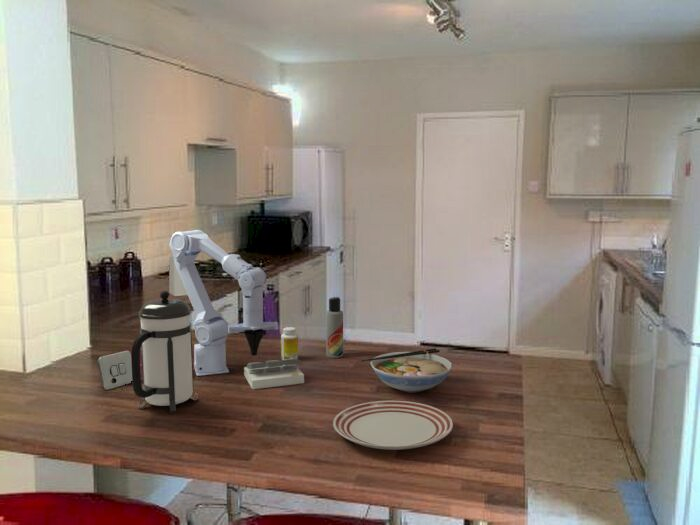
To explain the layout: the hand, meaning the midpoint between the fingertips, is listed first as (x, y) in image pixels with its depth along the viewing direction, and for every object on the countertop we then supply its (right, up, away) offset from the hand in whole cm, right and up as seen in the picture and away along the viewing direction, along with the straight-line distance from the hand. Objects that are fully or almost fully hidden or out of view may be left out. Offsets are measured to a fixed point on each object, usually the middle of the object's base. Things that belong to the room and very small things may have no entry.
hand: (253, 354), depth 170 cm
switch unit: (+6, -7, -1) cm, 9 cm away
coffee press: (-19, -10, -21) cm, 30 cm away
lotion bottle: (+23, -4, +23) cm, 33 cm away
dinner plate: (+38, -12, -37) cm, 55 cm away
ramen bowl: (+46, -8, -8) cm, 47 cm away
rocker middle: (+6, -3, -1) cm, 7 cm away
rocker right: (+11, -3, +1) cm, 11 cm away
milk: (-60, +11, +136) cm, 149 cm away
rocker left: (+1, -4, -3) cm, 5 cm away
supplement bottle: (+9, -5, +19) cm, 22 cm away
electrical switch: (-39, -8, -5) cm, 40 cm away
